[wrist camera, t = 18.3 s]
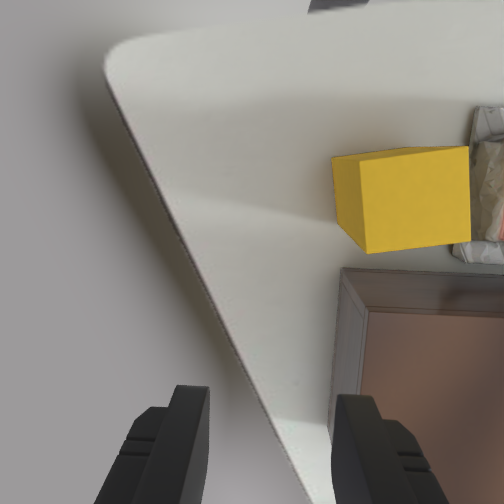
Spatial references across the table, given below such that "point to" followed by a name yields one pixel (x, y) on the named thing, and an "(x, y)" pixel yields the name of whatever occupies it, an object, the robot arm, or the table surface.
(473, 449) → the cabinet
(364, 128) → the table surface
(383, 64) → the table surface
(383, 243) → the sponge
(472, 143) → the packaged product
